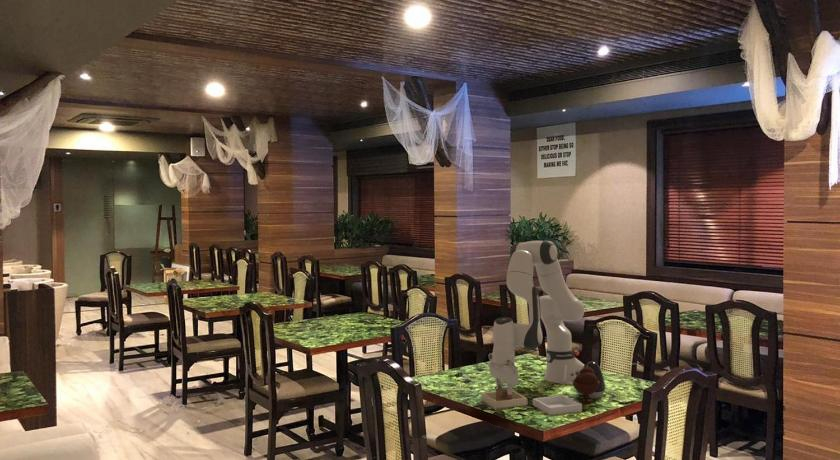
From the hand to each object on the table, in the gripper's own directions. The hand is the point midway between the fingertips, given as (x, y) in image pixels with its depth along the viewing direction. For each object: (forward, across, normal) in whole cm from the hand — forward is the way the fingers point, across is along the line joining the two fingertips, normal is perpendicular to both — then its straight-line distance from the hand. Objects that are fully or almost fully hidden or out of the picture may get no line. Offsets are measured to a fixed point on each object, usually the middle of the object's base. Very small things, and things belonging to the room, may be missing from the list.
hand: (504, 391), depth 279 cm
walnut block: (+4, 0, 0) cm, 4 cm away
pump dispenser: (+6, -4, -39) cm, 39 cm away
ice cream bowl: (+5, -12, -31) cm, 34 cm away
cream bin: (+5, 0, 0) cm, 5 cm away
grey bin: (+5, -15, -16) cm, 22 cm away
